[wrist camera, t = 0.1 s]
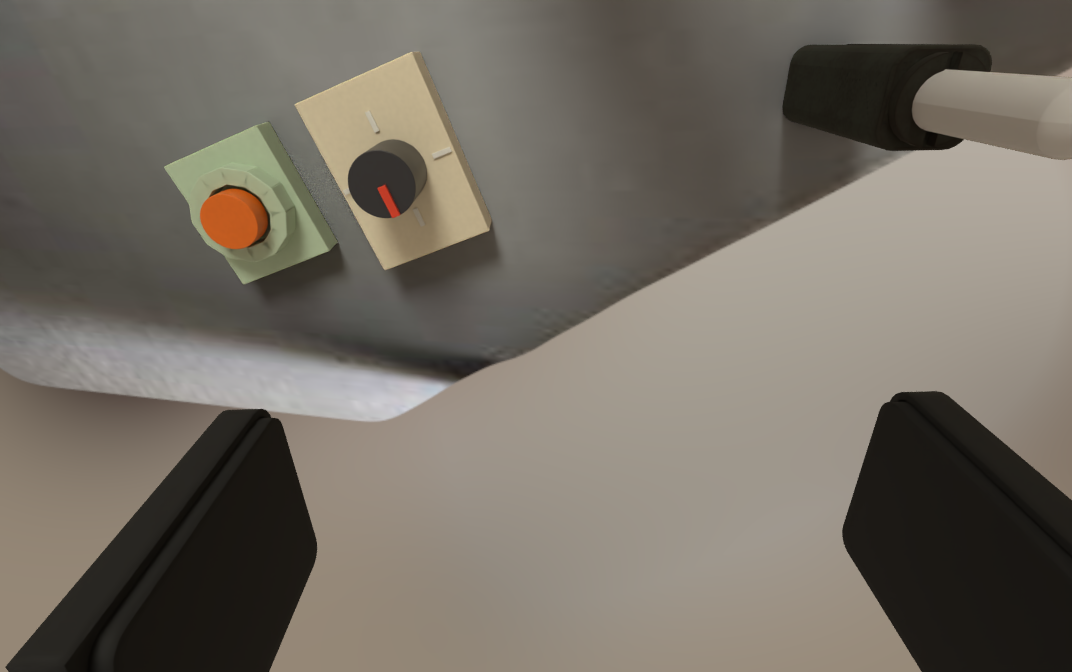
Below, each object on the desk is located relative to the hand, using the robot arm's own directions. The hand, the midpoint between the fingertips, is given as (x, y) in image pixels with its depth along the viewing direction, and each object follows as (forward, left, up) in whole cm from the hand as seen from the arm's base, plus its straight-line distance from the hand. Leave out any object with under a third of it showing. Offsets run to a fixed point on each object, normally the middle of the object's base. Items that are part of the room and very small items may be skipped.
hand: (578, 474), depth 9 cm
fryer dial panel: (-5, -10, -37) cm, 39 cm away
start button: (-9, -21, -34) cm, 41 cm away
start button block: (-9, -21, -37) cm, 44 cm away
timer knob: (-5, -10, -34) cm, 36 cm away
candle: (+9, +19, -37) cm, 43 cm away
